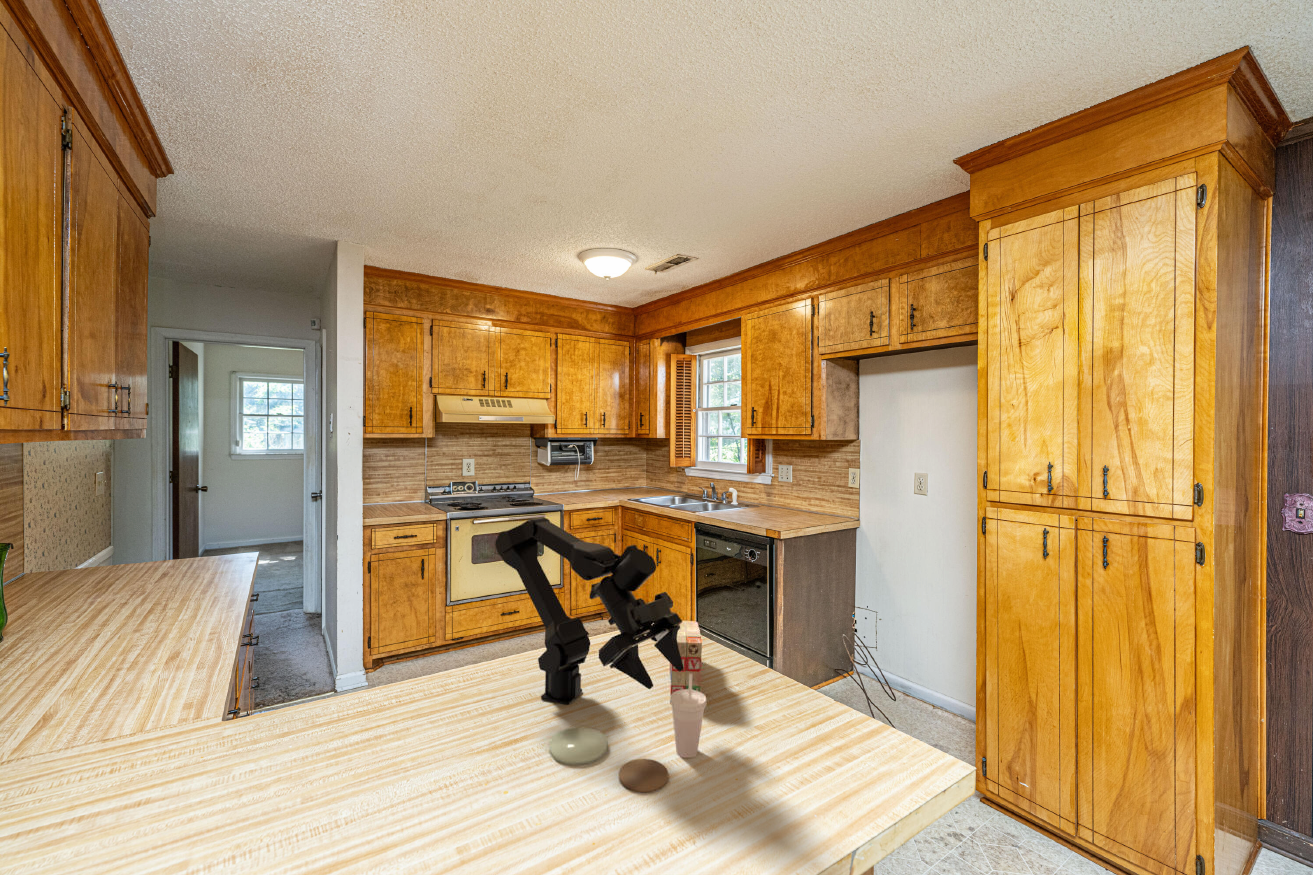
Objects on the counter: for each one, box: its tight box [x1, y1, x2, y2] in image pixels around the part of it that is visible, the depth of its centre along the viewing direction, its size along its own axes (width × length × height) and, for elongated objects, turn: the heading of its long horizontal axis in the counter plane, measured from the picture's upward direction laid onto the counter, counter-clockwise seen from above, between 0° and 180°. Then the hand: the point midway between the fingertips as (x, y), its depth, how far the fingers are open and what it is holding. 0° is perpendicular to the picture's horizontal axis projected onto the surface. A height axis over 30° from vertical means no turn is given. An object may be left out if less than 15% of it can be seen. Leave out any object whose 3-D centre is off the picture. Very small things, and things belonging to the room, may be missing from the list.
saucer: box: [548, 726, 608, 766], centre depth 101 cm, size 10×10×1 cm
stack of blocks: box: [669, 620, 703, 696], centre depth 130 cm, size 21×6×12 cm, turn 0°
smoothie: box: [669, 673, 707, 759], centre depth 101 cm, size 6×6×14 cm
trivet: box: [618, 758, 669, 794], centre depth 93 cm, size 8×8×1 cm
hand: (667, 678), depth 103 cm, fingers open, 9 cm apart
